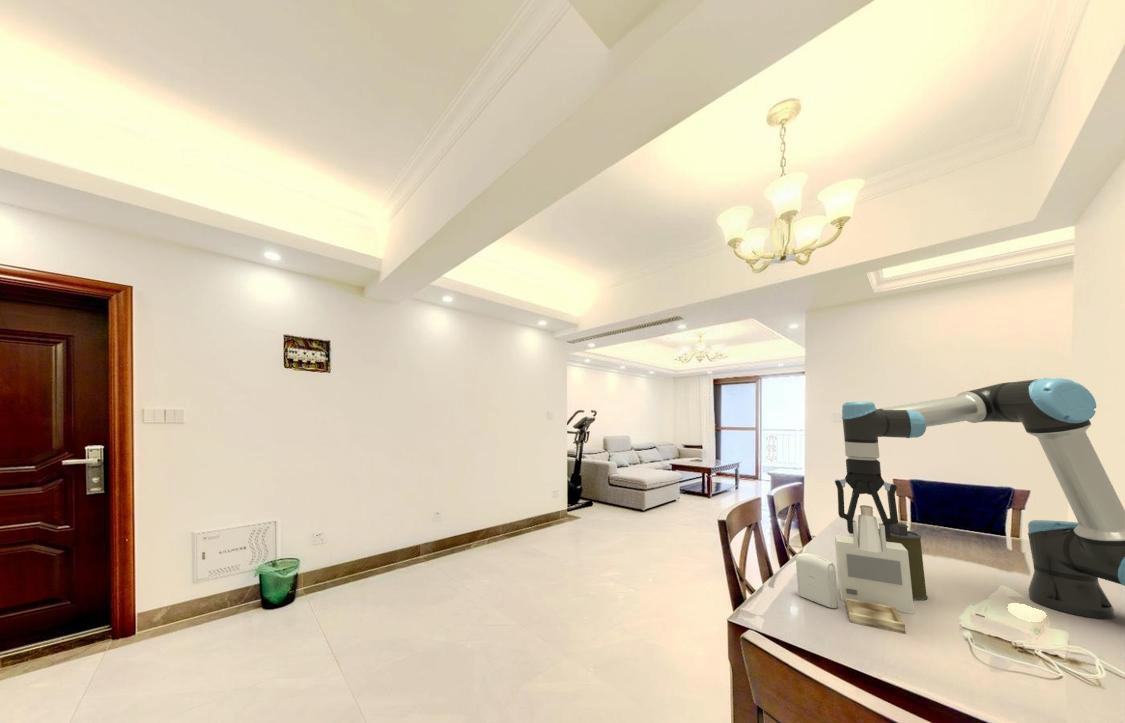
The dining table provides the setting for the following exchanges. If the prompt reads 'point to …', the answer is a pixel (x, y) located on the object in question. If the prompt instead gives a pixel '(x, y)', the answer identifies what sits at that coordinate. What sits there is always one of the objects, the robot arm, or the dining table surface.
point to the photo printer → (817, 579)
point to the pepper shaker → (868, 531)
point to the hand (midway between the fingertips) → (869, 548)
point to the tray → (874, 615)
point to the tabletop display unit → (874, 575)
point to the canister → (911, 557)
